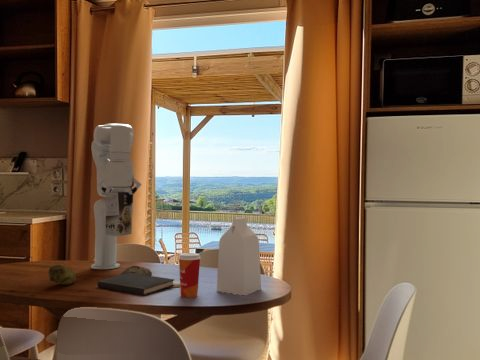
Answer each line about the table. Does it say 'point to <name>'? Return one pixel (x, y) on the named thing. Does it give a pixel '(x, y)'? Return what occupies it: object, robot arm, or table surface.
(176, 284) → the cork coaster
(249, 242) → the milk
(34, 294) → the table surface
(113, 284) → the hardcover book
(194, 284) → the paper cup
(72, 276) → the potato
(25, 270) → the table surface
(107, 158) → the robot arm
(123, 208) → the coffee box
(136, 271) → the bread roll
